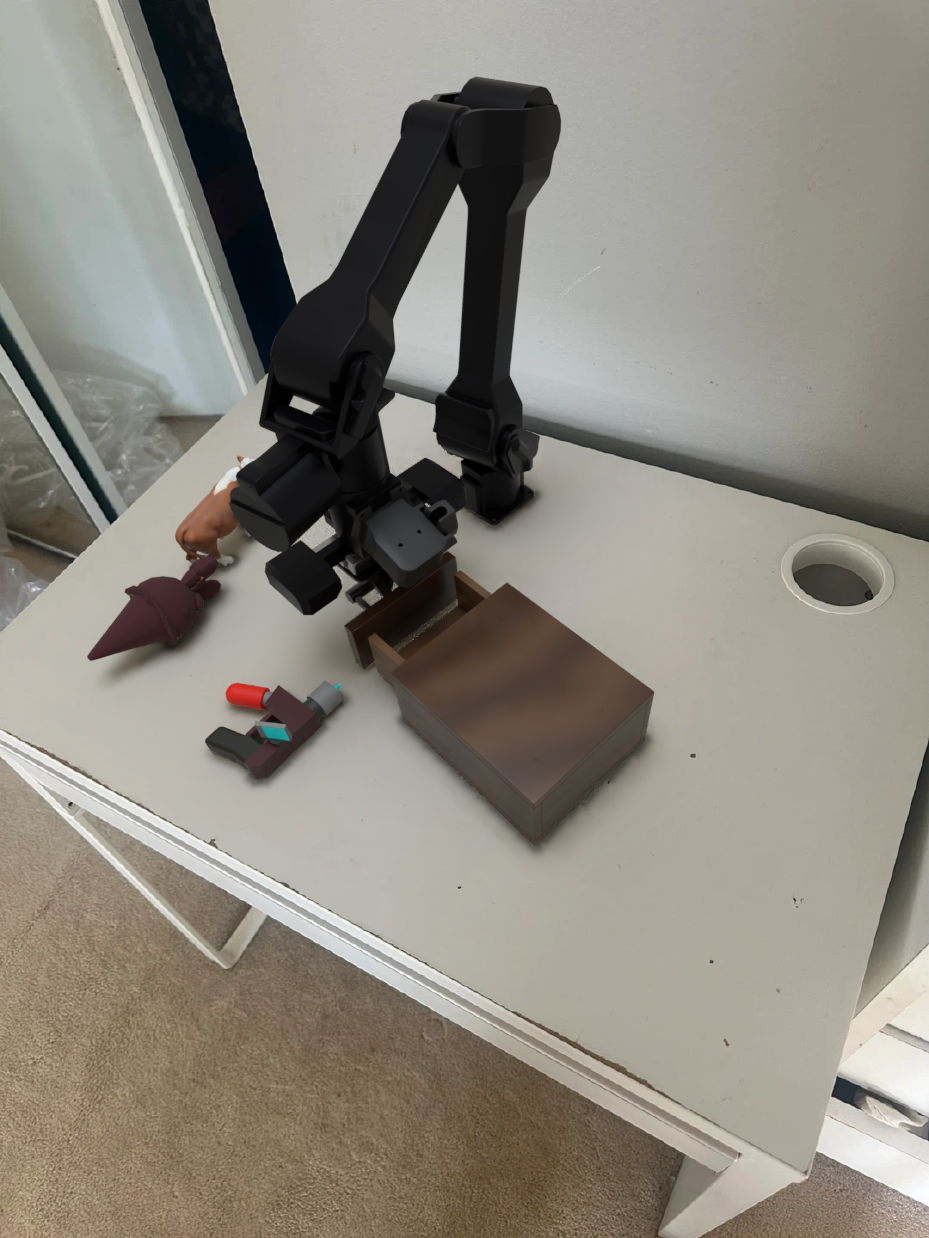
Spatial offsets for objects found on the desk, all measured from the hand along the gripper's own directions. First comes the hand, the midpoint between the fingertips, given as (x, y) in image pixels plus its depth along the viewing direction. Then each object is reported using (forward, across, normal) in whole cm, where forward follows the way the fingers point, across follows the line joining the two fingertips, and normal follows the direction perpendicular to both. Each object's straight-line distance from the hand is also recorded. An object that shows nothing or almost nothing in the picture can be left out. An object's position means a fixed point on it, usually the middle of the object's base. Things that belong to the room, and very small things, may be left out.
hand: (384, 593), depth 76 cm
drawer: (+3, 0, -8) cm, 8 cm away
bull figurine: (+4, -5, +21) cm, 21 cm away
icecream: (+4, -17, +15) cm, 23 cm away
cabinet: (+4, 0, -18) cm, 19 cm away
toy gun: (+4, -15, -1) cm, 16 cm away
